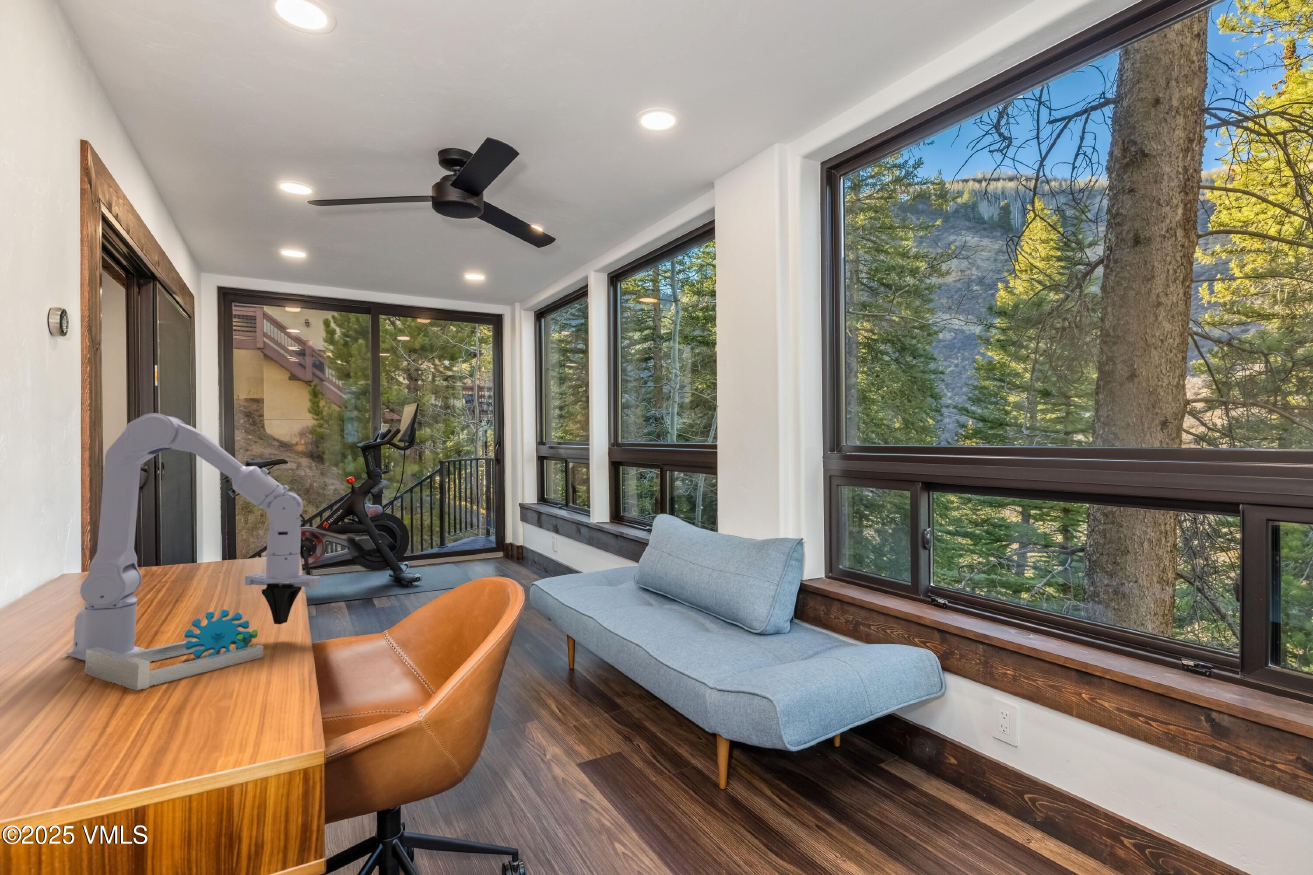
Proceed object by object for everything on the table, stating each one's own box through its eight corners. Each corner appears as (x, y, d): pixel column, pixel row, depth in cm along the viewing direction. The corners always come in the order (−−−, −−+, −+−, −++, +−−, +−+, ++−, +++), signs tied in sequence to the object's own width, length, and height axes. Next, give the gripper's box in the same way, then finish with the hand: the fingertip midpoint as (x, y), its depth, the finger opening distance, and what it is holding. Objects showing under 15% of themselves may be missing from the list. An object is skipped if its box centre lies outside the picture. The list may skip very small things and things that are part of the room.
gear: (176, 655, 109) (193, 605, 116) (176, 673, 112) (193, 623, 119) (250, 657, 114) (263, 609, 121) (248, 674, 117) (261, 626, 124)
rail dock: (84, 673, 104) (86, 648, 104) (212, 644, 121) (213, 623, 121) (137, 690, 97) (138, 664, 97) (264, 657, 114) (265, 635, 114)
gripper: (234, 555, 123) (230, 626, 122) (304, 557, 121) (301, 629, 120) (260, 550, 130) (257, 617, 129) (327, 552, 128) (324, 620, 127)
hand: (280, 622), depth 125 cm, fingers closed
